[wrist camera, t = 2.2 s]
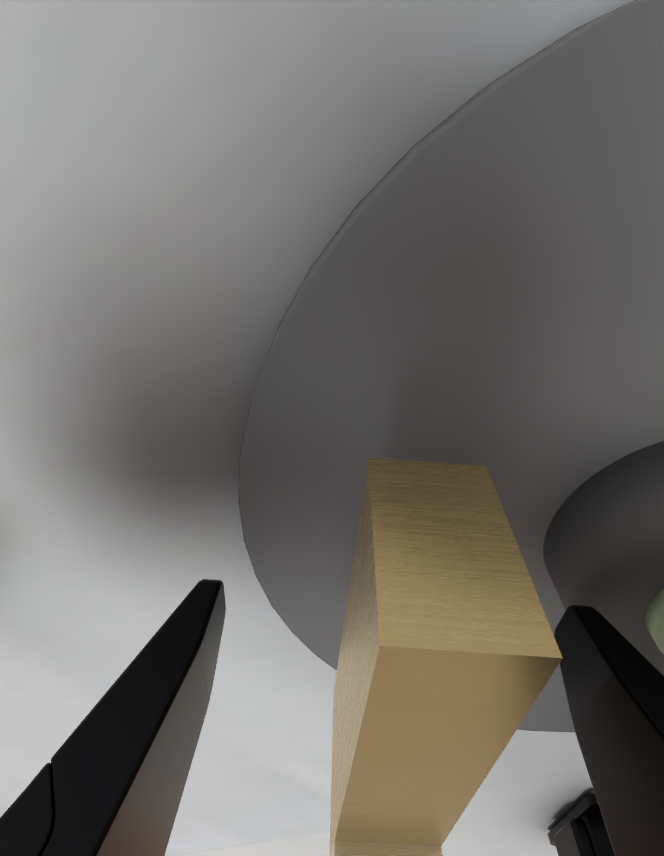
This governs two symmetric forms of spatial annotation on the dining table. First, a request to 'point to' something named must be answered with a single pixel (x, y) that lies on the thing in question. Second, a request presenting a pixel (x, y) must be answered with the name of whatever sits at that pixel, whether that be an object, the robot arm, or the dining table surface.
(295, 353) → the levelling base
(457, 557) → the wooden plank block
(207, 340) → the dining table surface
